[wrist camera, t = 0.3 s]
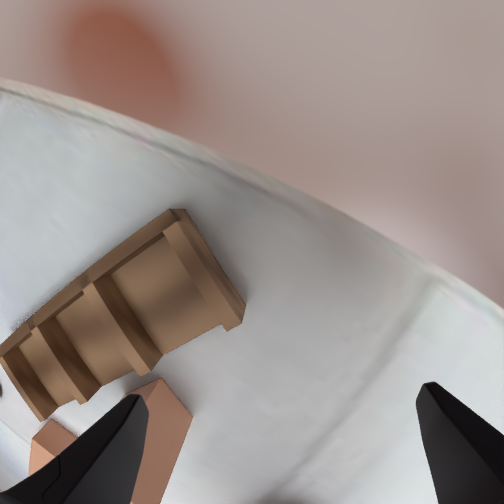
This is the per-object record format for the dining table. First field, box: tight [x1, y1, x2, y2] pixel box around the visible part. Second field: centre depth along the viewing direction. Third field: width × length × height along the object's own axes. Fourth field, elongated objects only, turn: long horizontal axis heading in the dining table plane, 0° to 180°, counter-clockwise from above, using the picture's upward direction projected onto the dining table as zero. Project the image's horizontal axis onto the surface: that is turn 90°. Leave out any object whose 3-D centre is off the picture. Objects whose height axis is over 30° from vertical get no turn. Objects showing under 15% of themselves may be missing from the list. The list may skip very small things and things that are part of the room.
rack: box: [0, 209, 246, 422], centre depth 24 cm, size 9×26×4 cm, turn 122°
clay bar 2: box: [120, 378, 193, 504], centre depth 20 cm, size 5×5×13 cm
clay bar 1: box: [29, 419, 77, 476], centre depth 27 cm, size 13×5×5 cm, turn 150°
